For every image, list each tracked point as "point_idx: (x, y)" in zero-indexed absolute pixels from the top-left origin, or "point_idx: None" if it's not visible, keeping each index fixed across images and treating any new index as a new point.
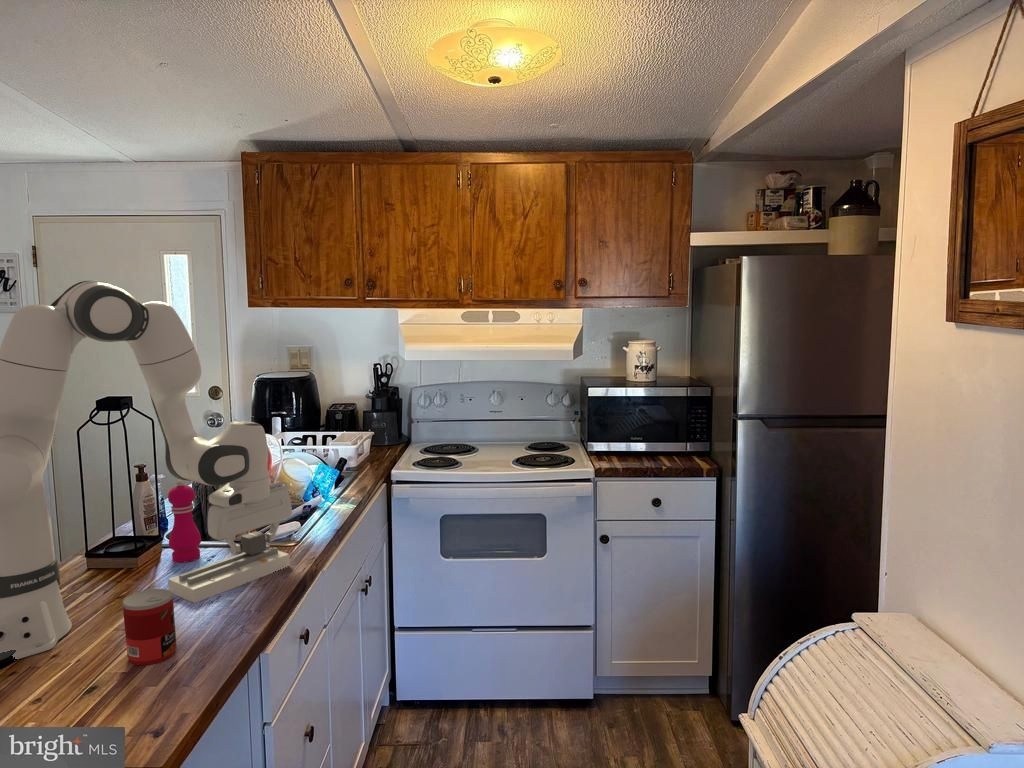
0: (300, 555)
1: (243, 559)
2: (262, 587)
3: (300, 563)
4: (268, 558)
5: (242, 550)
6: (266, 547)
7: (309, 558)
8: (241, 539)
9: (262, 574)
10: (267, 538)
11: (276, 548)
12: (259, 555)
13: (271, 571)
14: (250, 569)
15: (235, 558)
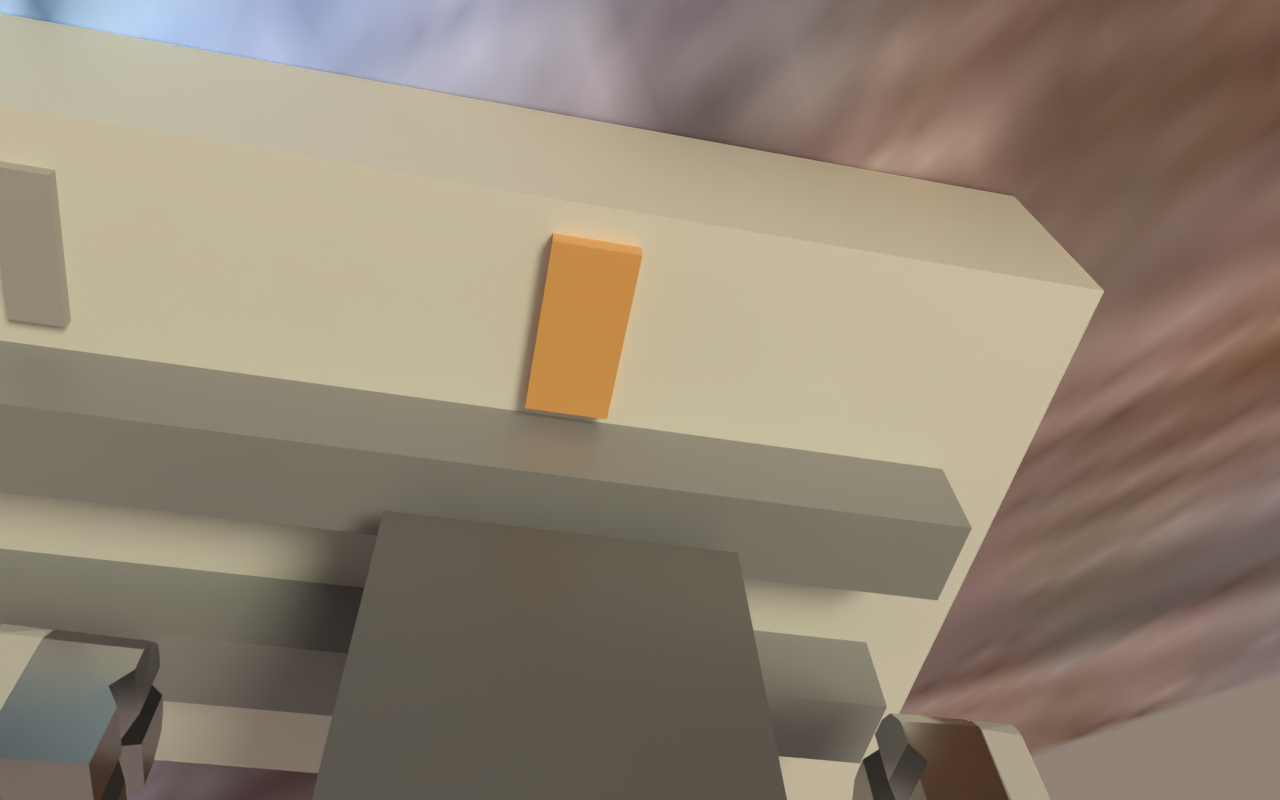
0: (1178, 572)
1: (215, 678)
2: (226, 797)
3: (928, 713)
4: None
5: (379, 541)
6: (867, 580)
7: (1095, 701)
8: (328, 738)
9: None
10: (891, 778)
11: (844, 754)
12: None
13: None
14: (209, 753)
15: (187, 501)
